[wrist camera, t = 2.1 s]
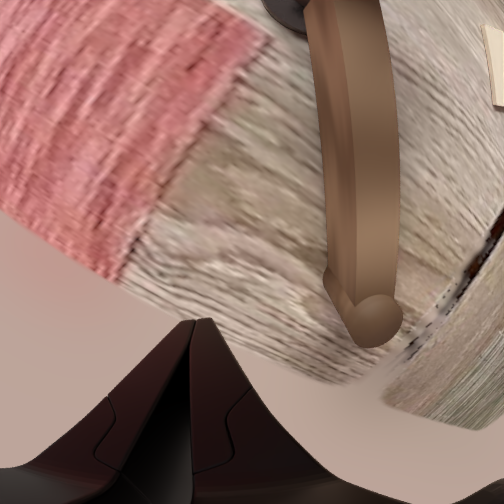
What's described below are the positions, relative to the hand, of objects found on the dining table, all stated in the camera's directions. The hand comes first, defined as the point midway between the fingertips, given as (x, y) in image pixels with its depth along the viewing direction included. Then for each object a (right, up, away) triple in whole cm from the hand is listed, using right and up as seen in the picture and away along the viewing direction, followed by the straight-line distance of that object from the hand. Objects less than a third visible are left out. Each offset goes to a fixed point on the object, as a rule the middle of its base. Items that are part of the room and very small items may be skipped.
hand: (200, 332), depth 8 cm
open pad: (+19, +14, +4) cm, 24 cm away
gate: (+5, +8, +5) cm, 11 cm away
